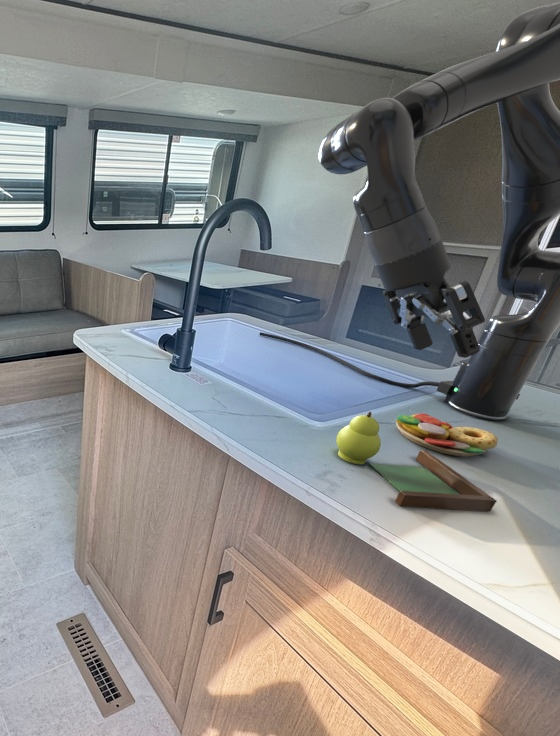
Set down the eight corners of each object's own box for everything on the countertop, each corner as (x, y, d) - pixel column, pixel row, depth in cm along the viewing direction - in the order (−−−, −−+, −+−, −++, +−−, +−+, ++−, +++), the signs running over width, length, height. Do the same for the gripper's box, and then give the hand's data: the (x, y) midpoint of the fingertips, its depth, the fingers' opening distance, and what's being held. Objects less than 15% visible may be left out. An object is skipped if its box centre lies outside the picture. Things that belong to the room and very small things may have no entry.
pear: (322, 449, 75) (339, 404, 71) (350, 446, 76) (368, 402, 72) (352, 469, 69) (372, 422, 66) (381, 466, 71) (402, 419, 67)
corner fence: (345, 455, 73) (349, 445, 72) (421, 459, 73) (426, 450, 72) (399, 506, 61) (405, 495, 61) (490, 511, 61) (497, 500, 60)
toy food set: (501, 453, 76) (510, 438, 75) (460, 468, 71) (469, 451, 70) (418, 418, 87) (424, 404, 86) (378, 429, 82) (384, 414, 81)
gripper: (476, 228, 52) (520, 345, 54) (399, 241, 66) (436, 334, 68) (412, 258, 54) (456, 370, 56) (350, 265, 68) (387, 355, 70)
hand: (445, 351), depth 62 cm, fingers open, 8 cm apart
